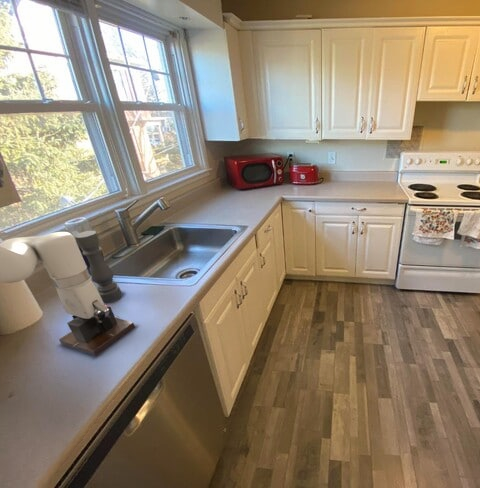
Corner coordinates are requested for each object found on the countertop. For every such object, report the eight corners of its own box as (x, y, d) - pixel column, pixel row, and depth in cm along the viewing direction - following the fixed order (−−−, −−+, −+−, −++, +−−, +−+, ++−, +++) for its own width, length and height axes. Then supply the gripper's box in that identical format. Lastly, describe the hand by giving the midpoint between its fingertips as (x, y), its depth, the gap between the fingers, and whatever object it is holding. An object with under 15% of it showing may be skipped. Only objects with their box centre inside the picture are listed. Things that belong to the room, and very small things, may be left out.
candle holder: (111, 291, 104) (85, 229, 93) (126, 293, 103) (101, 230, 92) (96, 302, 98) (67, 237, 87) (112, 303, 98) (85, 238, 87)
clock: (86, 343, 78) (77, 325, 75) (75, 339, 80) (66, 322, 77) (117, 322, 86) (110, 305, 83) (106, 319, 87) (99, 302, 84)
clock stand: (59, 346, 80) (55, 340, 79) (104, 316, 91) (102, 311, 90) (93, 358, 76) (90, 352, 75) (136, 326, 87) (134, 320, 86)
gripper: (34, 279, 74) (61, 329, 81) (79, 291, 69) (103, 342, 76) (65, 265, 80) (88, 312, 88) (109, 275, 75) (129, 324, 83)
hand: (95, 326), depth 82 cm, fingers open, 9 cm apart
